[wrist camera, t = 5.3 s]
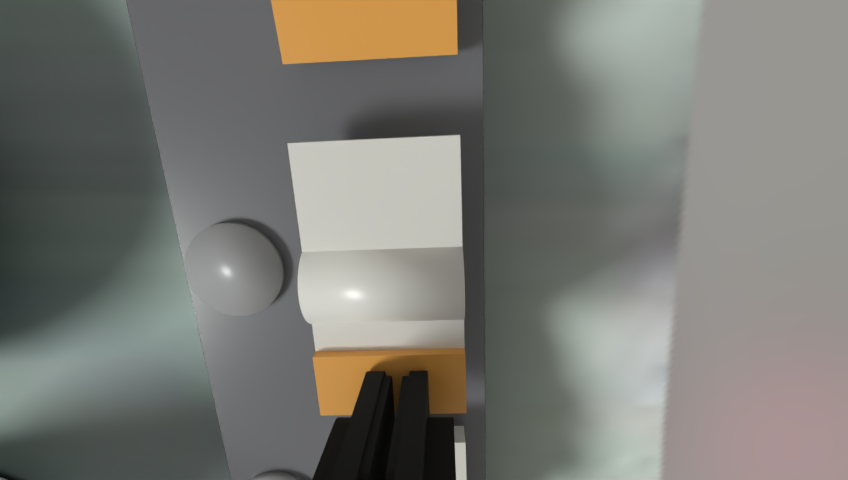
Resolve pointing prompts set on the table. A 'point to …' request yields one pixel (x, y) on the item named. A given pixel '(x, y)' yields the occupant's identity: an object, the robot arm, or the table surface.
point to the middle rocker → (382, 264)
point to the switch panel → (289, 203)
